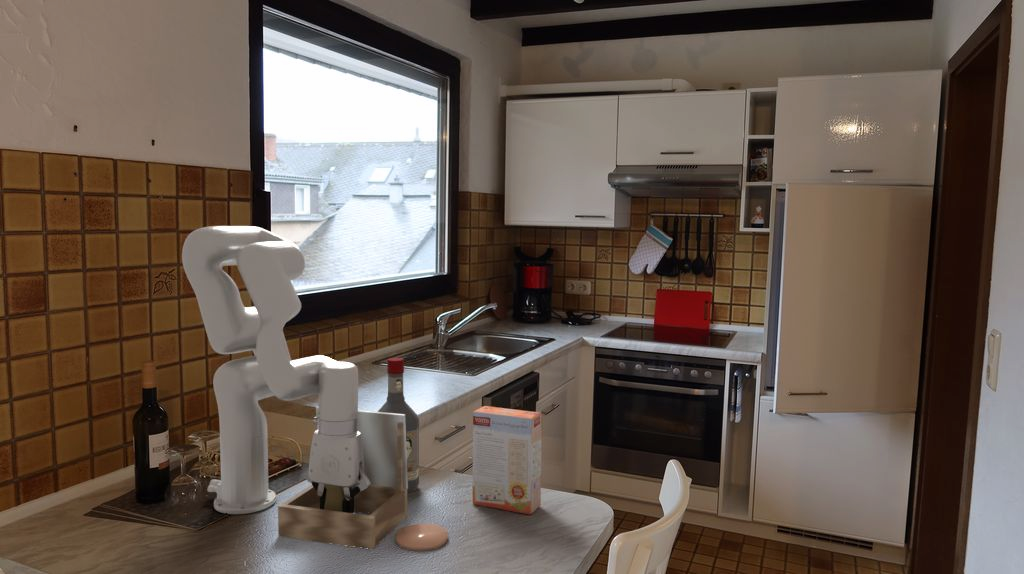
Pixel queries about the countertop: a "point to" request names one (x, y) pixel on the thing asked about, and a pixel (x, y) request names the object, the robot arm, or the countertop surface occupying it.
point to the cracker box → (507, 459)
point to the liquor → (399, 406)
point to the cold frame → (379, 499)
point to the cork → (334, 498)
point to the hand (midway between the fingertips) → (336, 514)
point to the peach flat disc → (421, 537)
